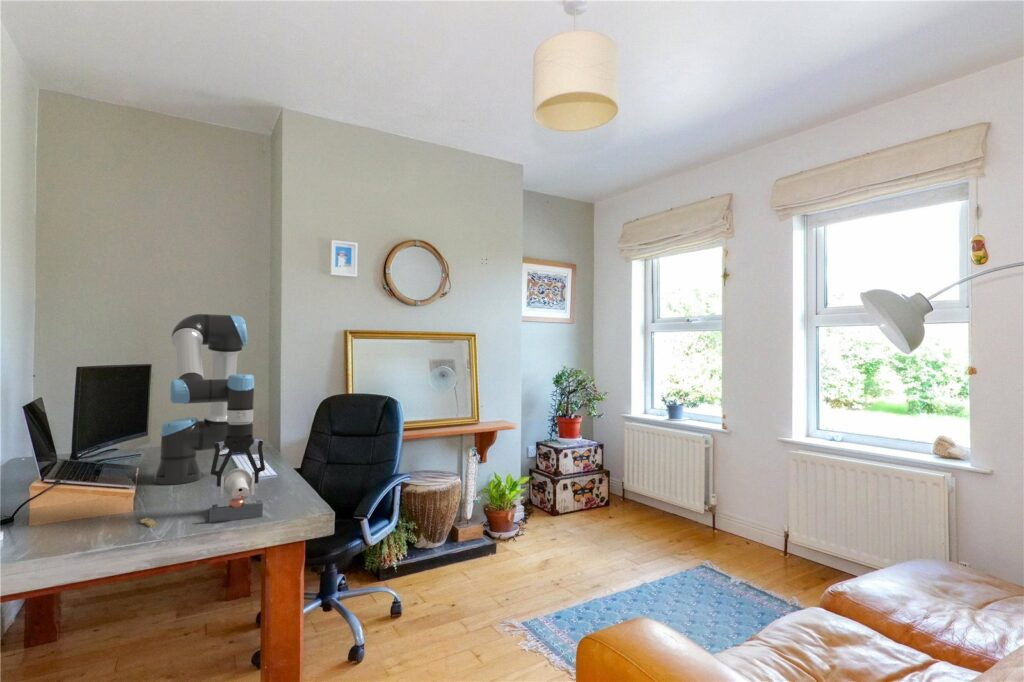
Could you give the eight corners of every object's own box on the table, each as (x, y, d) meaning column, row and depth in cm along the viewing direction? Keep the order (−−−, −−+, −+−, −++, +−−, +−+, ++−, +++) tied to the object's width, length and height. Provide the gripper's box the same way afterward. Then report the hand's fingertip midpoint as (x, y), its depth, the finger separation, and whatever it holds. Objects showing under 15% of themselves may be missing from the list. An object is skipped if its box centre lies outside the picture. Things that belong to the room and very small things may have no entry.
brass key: (139, 522, 150) (139, 519, 150) (150, 520, 152) (150, 517, 152) (147, 527, 146) (147, 524, 146) (158, 525, 148) (159, 522, 148)
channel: (212, 508, 164) (213, 490, 164) (261, 503, 170) (261, 486, 170) (208, 524, 150) (209, 504, 150) (262, 518, 156) (263, 499, 156)
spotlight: (252, 486, 169) (248, 464, 167) (257, 502, 160) (253, 478, 158) (224, 494, 165) (220, 471, 163) (228, 510, 156) (224, 487, 154)
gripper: (200, 426, 156) (198, 501, 155) (276, 423, 165) (274, 494, 165) (202, 422, 162) (200, 495, 162) (275, 420, 172) (273, 488, 171)
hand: (237, 495), depth 163 cm, fingers closed on spotlight, 8 cm apart
